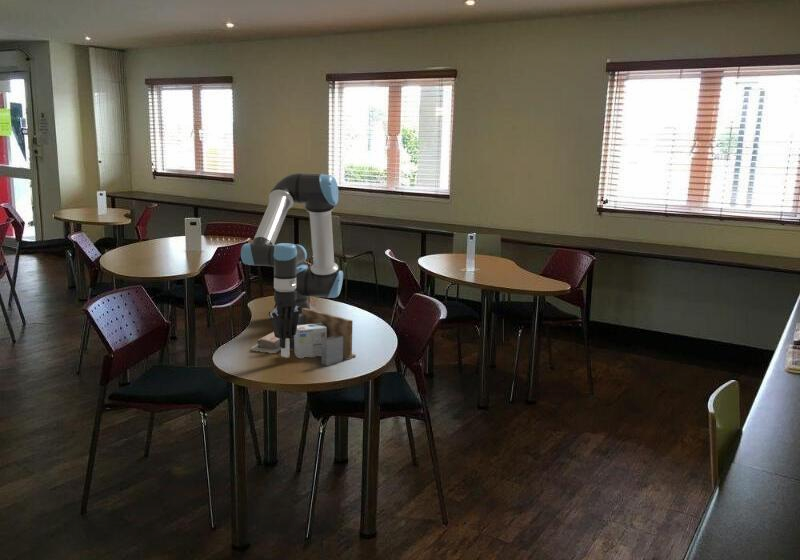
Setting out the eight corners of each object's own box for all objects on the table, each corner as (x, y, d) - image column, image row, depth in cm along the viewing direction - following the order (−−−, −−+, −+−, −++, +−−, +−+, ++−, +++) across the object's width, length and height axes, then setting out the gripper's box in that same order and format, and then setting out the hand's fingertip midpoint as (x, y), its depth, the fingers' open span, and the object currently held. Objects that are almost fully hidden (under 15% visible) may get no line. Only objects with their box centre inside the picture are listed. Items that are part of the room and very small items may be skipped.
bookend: (321, 364, 227) (321, 339, 225) (338, 359, 233) (338, 334, 231) (326, 366, 225) (326, 340, 223) (342, 360, 231) (343, 336, 229)
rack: (281, 349, 241) (281, 312, 238) (307, 342, 251) (308, 307, 248) (329, 365, 226) (330, 326, 223) (355, 357, 235) (356, 319, 233)
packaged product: (274, 326, 255) (297, 329, 252) (274, 338, 256) (297, 341, 253) (250, 339, 238) (275, 342, 236) (250, 351, 239) (275, 355, 236)
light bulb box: (321, 350, 242) (321, 322, 240) (327, 356, 236) (327, 327, 234) (293, 353, 238) (293, 324, 236) (298, 359, 232) (298, 329, 230)
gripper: (277, 294, 215) (277, 363, 220) (307, 288, 225) (306, 354, 230) (262, 290, 220) (263, 358, 224) (292, 285, 230) (292, 349, 234)
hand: (285, 356), depth 227 cm, fingers closed
